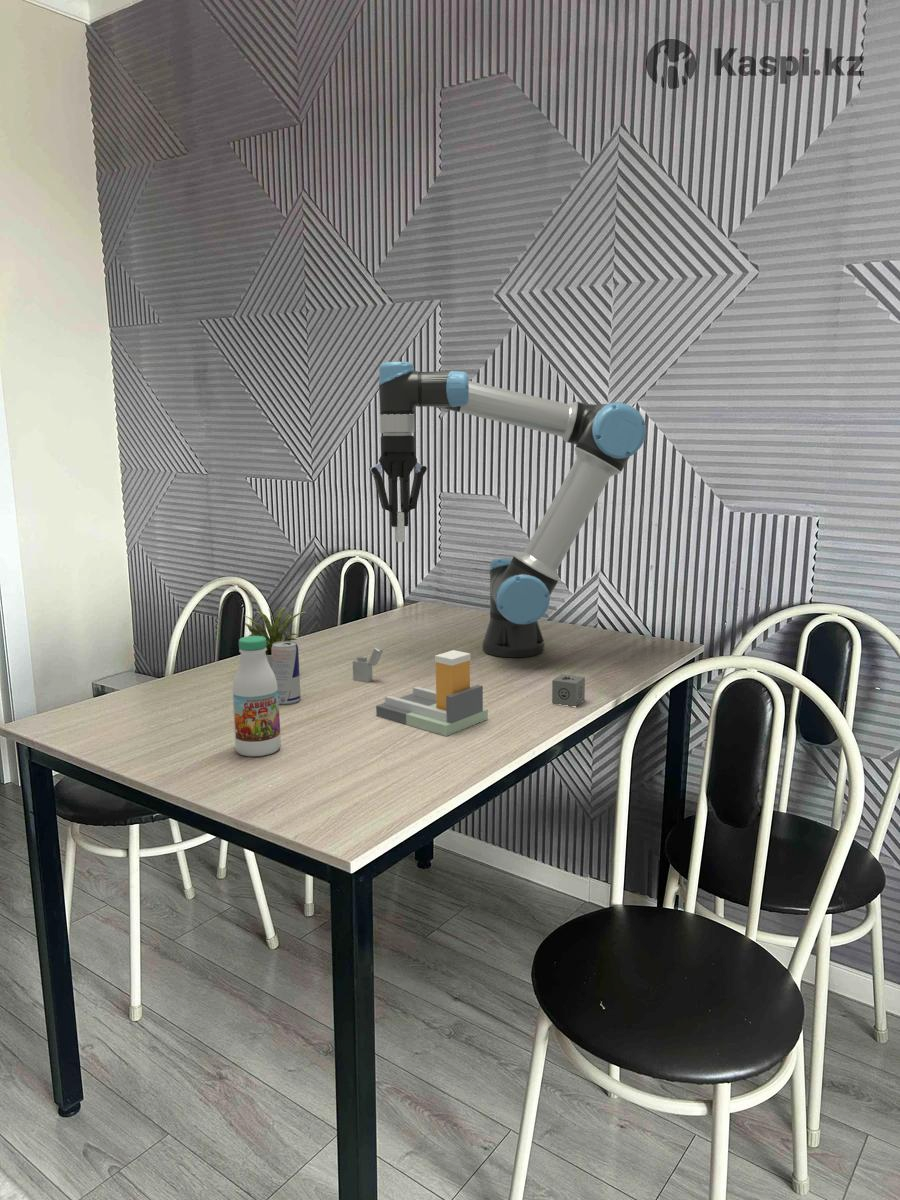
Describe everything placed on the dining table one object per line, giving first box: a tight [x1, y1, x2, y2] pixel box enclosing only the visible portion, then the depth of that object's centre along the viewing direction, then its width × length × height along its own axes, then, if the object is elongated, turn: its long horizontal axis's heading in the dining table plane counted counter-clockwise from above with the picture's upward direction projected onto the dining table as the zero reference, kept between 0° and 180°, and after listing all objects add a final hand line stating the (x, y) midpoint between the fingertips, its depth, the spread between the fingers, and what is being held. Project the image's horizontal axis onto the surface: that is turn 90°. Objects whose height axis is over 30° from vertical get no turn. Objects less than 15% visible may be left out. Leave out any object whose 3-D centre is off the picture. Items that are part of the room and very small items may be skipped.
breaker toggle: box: [434, 649, 472, 711], centre depth 165 cm, size 4×5×11 cm
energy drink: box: [271, 640, 301, 705], centre depth 181 cm, size 5×5×12 cm
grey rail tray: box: [375, 684, 489, 737], centre depth 170 cm, size 18×12×7 cm, turn 49°
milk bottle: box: [232, 635, 282, 757], centre depth 153 cm, size 8×8×20 cm
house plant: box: [244, 606, 306, 671], centre depth 197 cm, size 14×14×16 cm
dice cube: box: [551, 673, 586, 707], centre depth 179 cm, size 5×5×5 cm
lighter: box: [352, 645, 384, 683], centre depth 194 cm, size 7×2×8 cm, turn 63°
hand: (399, 541), depth 200 cm, fingers closed
